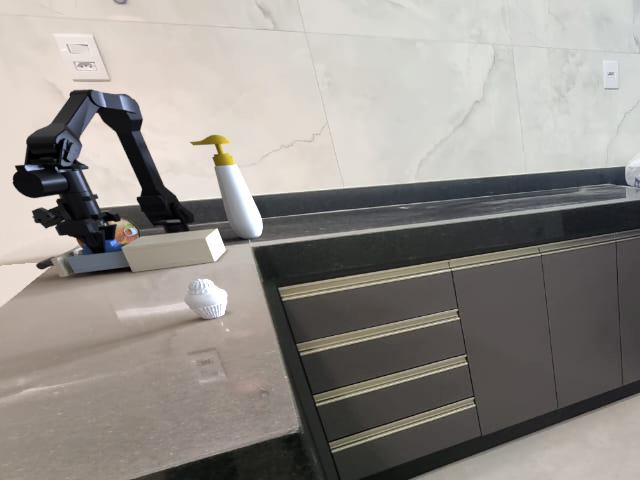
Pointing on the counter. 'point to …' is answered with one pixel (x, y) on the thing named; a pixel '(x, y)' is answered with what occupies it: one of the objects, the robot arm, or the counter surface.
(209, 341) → the counter surface
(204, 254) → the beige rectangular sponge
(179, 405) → the counter surface
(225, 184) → the soap bottle
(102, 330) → the counter surface
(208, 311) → the muffin
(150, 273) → the counter surface
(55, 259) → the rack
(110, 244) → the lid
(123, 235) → the tin
